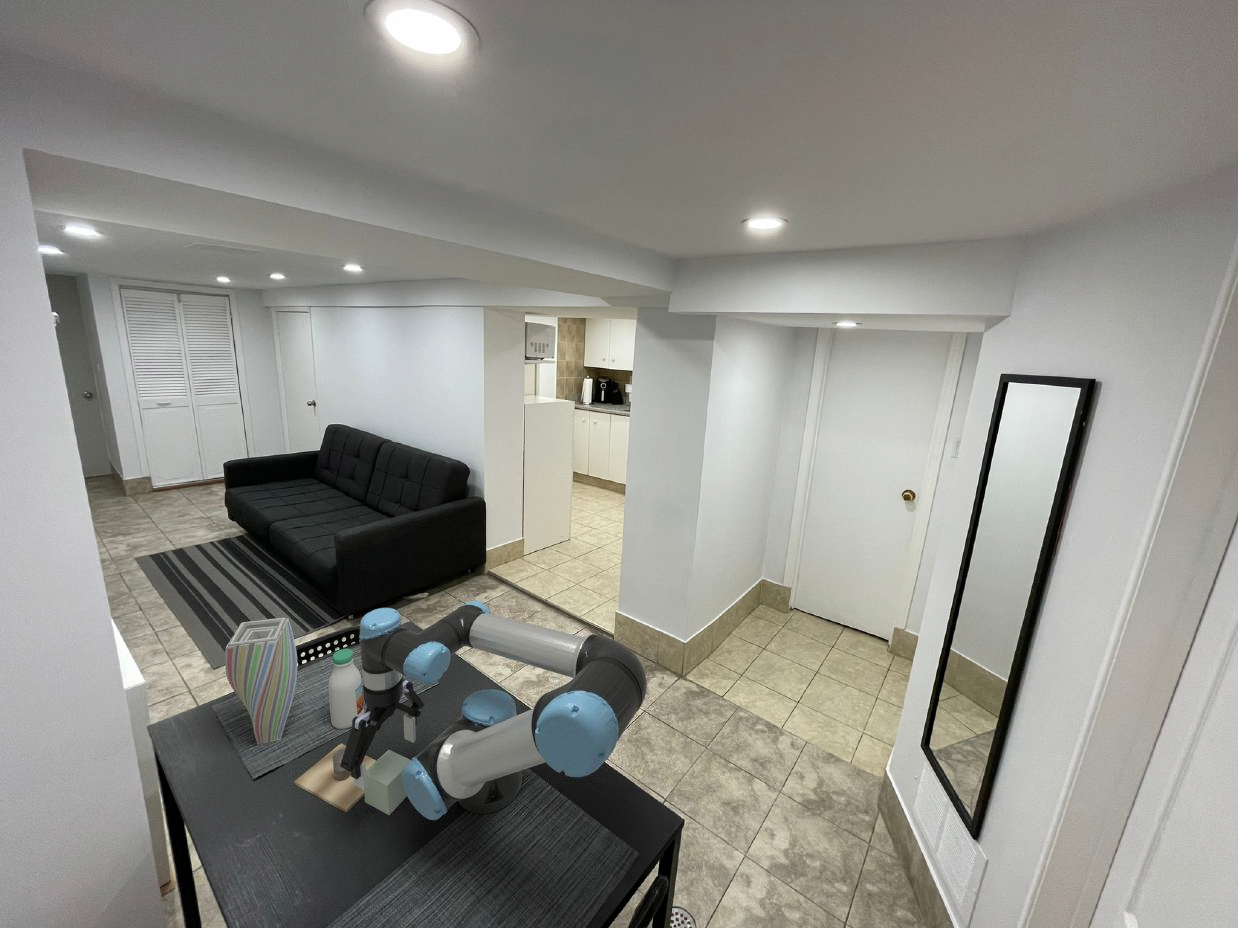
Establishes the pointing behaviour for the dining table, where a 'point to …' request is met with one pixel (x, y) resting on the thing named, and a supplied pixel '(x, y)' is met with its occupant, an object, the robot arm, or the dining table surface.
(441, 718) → the dining table surface
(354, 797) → the post base
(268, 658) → the vase
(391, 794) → the pale green block
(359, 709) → the milk bottle
